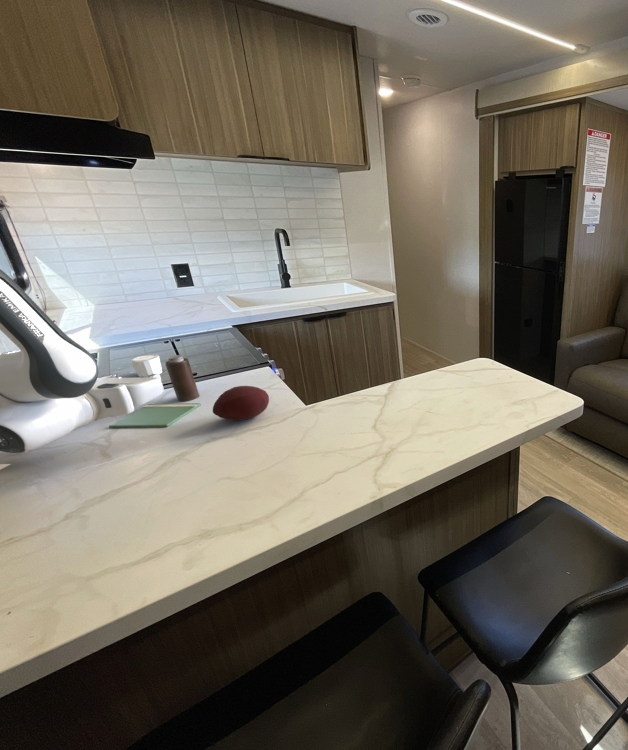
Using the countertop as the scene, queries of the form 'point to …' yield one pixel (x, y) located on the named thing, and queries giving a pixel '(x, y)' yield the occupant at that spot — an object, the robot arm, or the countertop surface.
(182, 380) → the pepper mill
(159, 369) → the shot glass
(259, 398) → the potato
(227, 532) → the countertop surface
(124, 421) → the tea towel
